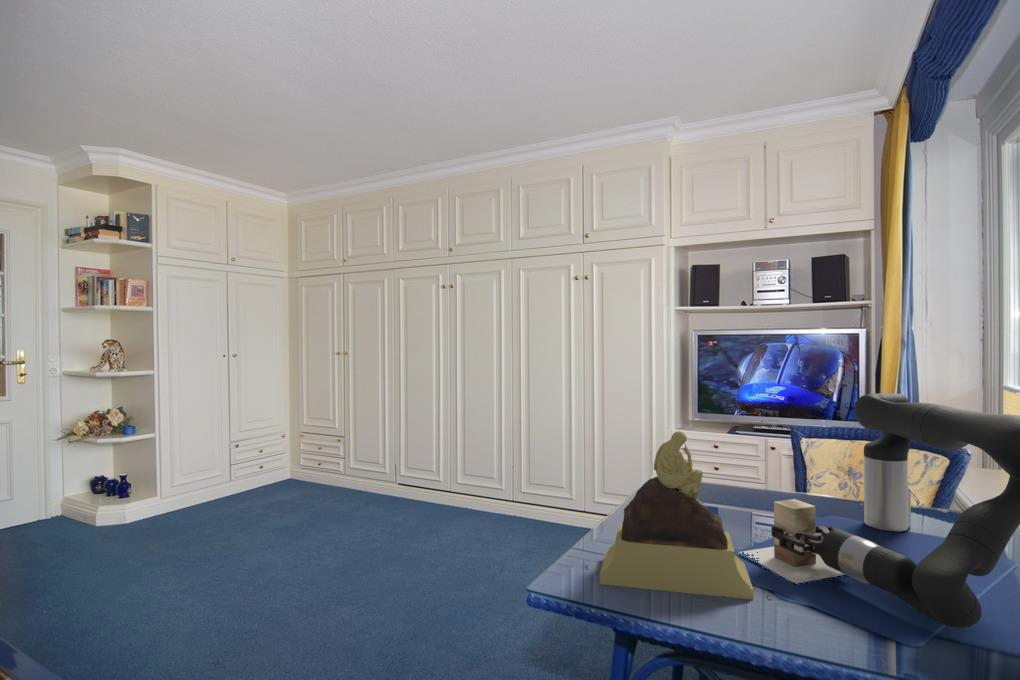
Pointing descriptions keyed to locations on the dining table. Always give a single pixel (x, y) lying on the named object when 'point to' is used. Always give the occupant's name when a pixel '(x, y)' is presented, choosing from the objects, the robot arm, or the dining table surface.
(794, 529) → the two-tone block
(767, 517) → the dining table surface
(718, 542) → the seated figure statue
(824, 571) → the off-white mat
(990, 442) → the robot arm
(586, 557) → the dining table surface
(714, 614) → the dining table surface
